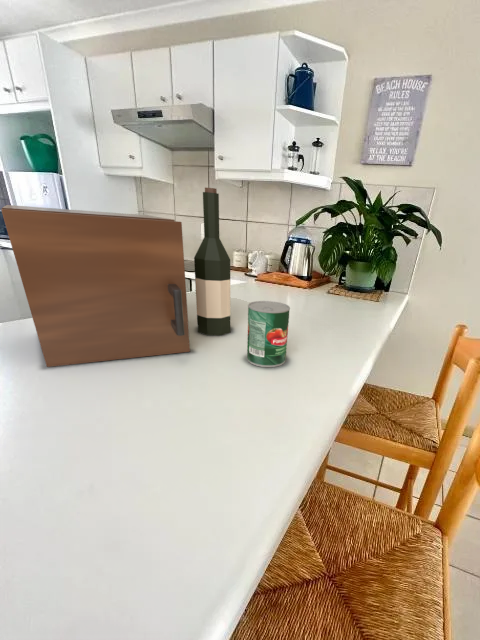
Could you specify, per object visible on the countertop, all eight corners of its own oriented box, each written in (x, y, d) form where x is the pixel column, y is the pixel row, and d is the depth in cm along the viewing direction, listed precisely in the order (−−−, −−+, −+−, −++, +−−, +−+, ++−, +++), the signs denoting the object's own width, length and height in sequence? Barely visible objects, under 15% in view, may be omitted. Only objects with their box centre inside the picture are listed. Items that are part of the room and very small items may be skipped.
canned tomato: (251, 350, 69) (252, 298, 64) (287, 354, 69) (291, 303, 64) (242, 365, 62) (243, 308, 57) (283, 369, 62) (287, 313, 57)
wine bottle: (237, 333, 78) (238, 190, 65) (204, 337, 74) (198, 185, 60) (223, 323, 84) (221, 190, 71) (191, 326, 80) (183, 186, 66)
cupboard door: (196, 362, 61) (189, 223, 50) (43, 381, 50) (-9, 210, 40) (188, 349, 66) (180, 221, 55) (47, 364, 55) (2, 209, 45)
